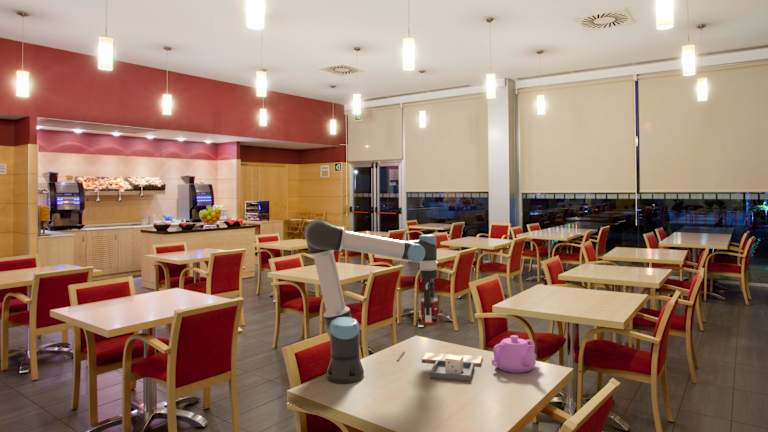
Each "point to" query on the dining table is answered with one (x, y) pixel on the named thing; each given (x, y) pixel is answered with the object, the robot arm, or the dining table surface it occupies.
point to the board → (437, 356)
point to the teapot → (514, 355)
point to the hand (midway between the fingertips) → (429, 319)
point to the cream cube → (454, 364)
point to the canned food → (433, 312)
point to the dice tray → (439, 373)
